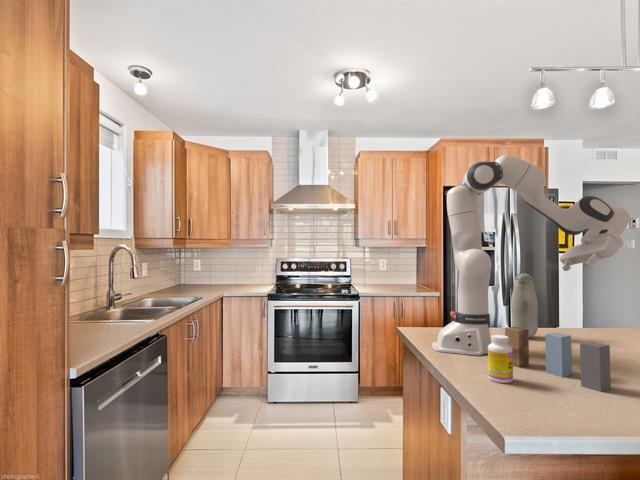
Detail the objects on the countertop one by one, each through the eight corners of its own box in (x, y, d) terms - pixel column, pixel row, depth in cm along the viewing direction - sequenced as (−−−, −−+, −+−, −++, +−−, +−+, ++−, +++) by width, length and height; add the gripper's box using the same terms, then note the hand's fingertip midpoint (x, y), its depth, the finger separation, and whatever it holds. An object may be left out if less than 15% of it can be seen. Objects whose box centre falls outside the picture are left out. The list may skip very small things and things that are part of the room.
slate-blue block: (562, 377, 115) (561, 337, 116) (545, 372, 120) (545, 334, 120) (571, 374, 118) (571, 335, 118) (555, 370, 122) (554, 332, 122)
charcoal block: (600, 391, 103) (599, 347, 104) (581, 386, 108) (580, 343, 108) (610, 388, 106) (609, 345, 106) (591, 383, 110) (590, 341, 110)
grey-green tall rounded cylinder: (508, 334, 172) (507, 272, 173) (532, 335, 171) (531, 272, 172) (516, 340, 162) (515, 274, 163) (542, 340, 161) (540, 274, 162)
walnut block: (519, 367, 125) (518, 330, 125) (505, 363, 129) (505, 328, 130) (529, 365, 127) (528, 329, 127) (515, 361, 132) (514, 326, 132)
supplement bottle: (511, 385, 109) (511, 340, 109) (486, 381, 112) (485, 337, 113) (514, 378, 114) (513, 335, 115) (490, 374, 118) (489, 333, 118)
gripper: (567, 241, 145) (547, 265, 142) (615, 227, 126) (593, 255, 122) (579, 253, 145) (559, 278, 141) (629, 241, 125) (607, 269, 122)
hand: (575, 267), depth 132 cm, fingers open, 8 cm apart
